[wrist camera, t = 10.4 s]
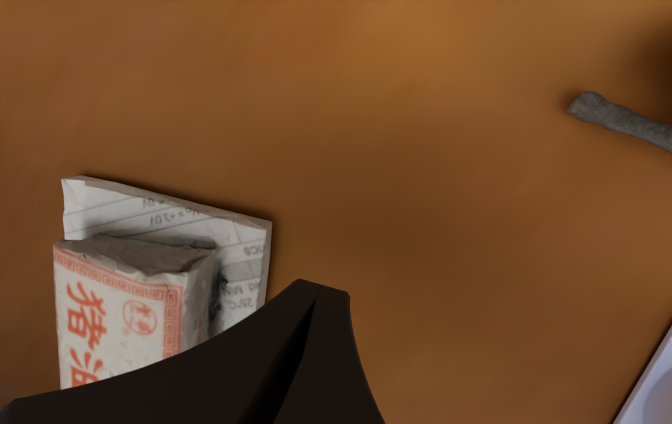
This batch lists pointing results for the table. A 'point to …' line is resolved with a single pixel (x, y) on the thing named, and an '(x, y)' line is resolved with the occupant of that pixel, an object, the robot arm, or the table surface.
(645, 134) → the dog figurine
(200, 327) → the packaged product
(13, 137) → the table surface
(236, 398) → the robot arm
